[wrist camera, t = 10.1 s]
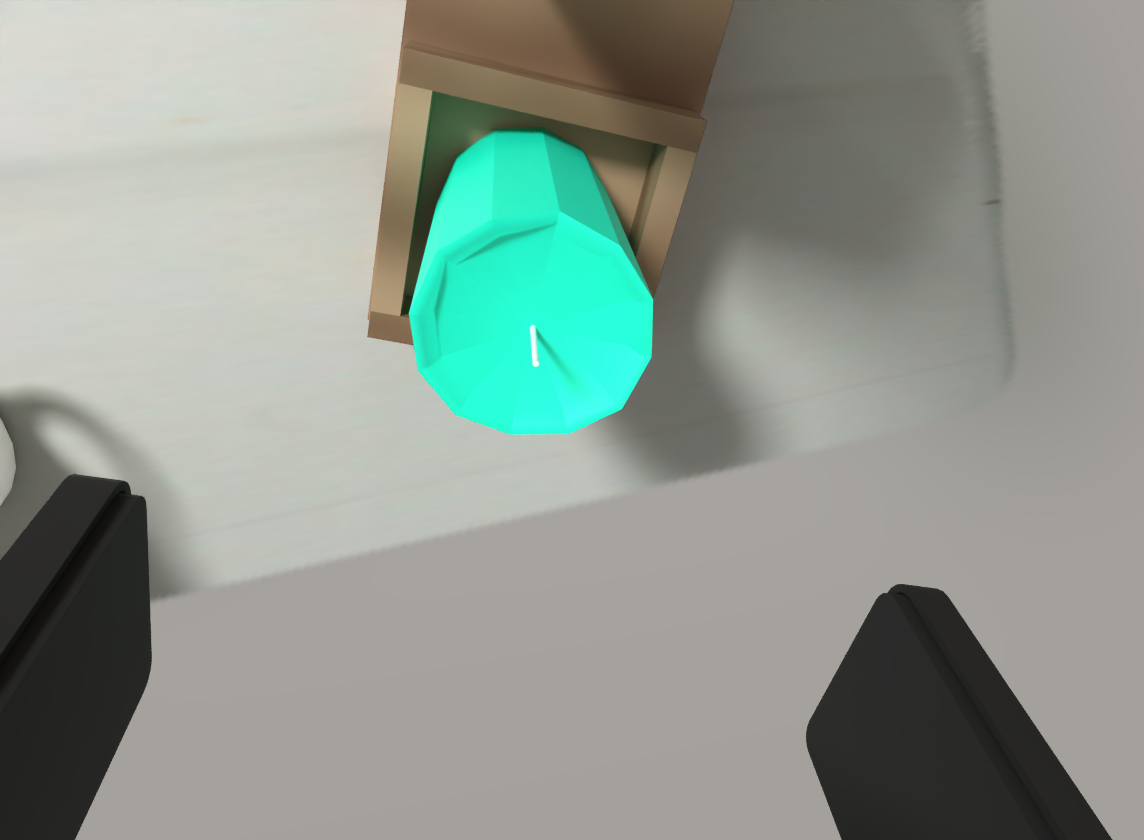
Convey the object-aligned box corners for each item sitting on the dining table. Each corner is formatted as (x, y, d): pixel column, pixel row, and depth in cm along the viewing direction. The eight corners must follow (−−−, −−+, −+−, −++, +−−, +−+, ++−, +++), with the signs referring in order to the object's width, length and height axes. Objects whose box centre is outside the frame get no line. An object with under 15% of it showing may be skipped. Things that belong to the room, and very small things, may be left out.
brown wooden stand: (471, -456, 22) (430, -979, 10) (811, -335, 24) (1149, -642, 11) (376, 294, 33) (297, 512, 20) (617, 340, 34) (683, 566, 22)
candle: (643, 206, 29) (721, 352, 19) (530, 324, 31) (545, 514, 21) (515, 84, 27) (523, 173, 16) (402, 219, 29) (346, 375, 18)
